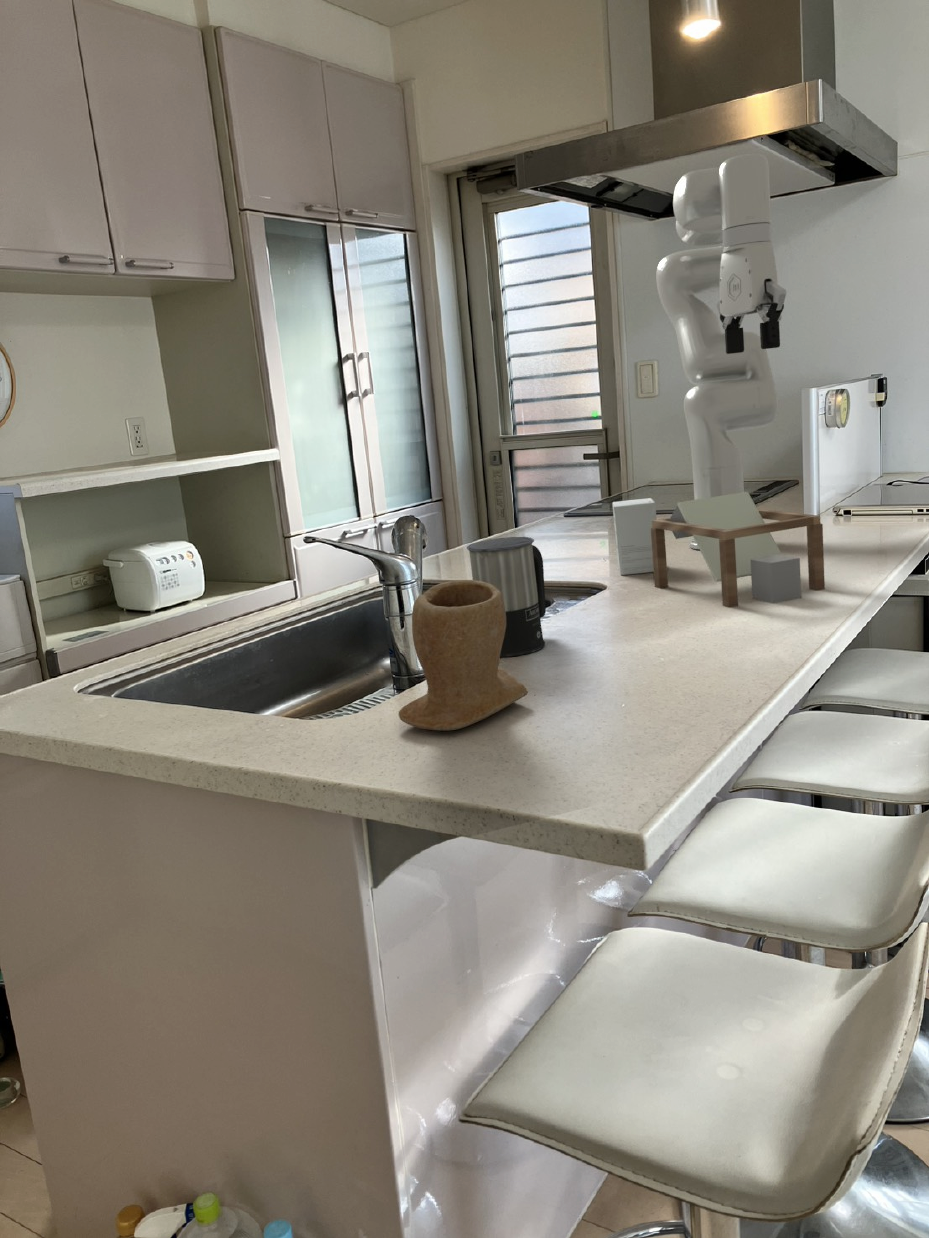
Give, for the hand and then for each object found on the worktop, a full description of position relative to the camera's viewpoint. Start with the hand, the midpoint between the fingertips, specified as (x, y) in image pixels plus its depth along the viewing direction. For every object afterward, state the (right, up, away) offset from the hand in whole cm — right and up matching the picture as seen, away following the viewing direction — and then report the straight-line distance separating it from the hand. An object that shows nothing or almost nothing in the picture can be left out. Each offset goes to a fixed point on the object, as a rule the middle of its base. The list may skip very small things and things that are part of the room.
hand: (752, 350), depth 164 cm
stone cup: (-46, -54, -53) cm, 89 cm away
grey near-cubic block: (-1, -35, -15) cm, 38 cm away
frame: (-4, -38, -3) cm, 39 cm away
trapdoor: (-5, -33, -1) cm, 33 cm away
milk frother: (-43, -47, -23) cm, 68 cm away
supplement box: (-15, -35, +20) cm, 43 cm away
